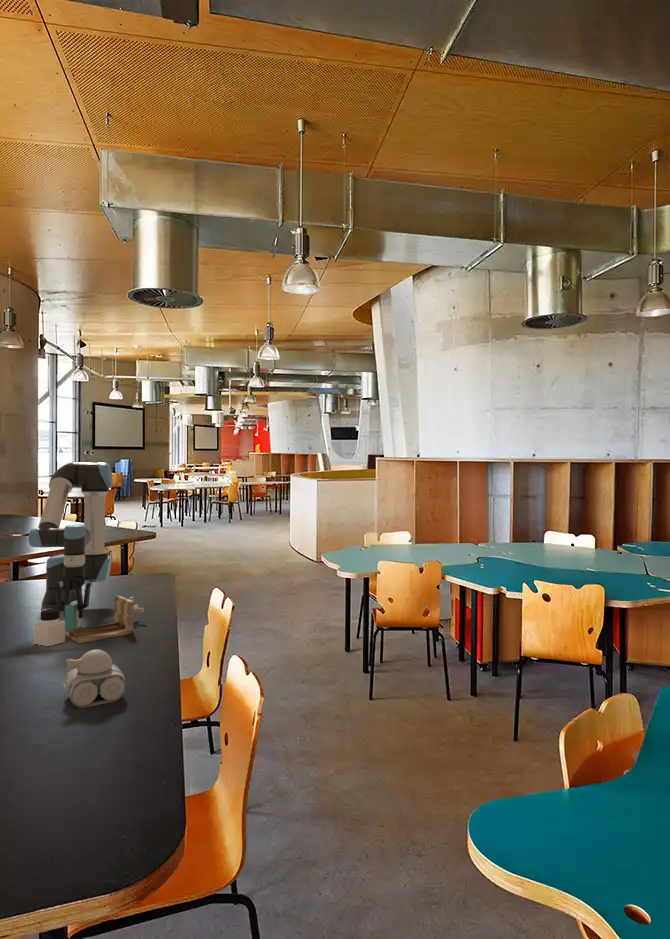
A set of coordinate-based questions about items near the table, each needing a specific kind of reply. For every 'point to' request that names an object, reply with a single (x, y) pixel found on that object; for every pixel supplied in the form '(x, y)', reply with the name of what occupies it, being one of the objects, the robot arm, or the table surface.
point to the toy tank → (93, 679)
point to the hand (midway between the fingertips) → (73, 626)
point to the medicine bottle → (49, 628)
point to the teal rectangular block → (71, 616)
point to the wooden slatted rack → (120, 627)
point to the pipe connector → (136, 606)
